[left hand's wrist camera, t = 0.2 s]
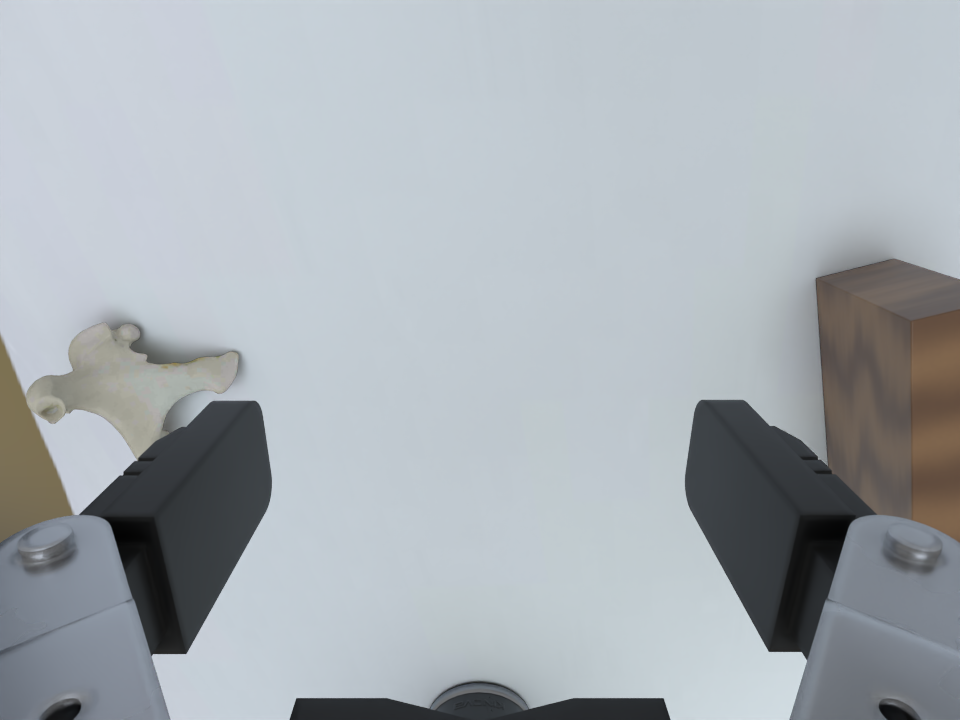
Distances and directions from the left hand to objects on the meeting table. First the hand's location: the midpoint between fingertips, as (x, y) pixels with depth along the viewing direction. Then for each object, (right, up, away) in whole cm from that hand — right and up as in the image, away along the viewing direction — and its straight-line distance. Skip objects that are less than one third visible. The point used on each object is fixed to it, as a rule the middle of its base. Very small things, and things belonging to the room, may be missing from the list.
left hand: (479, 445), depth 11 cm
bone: (-22, 0, +31) cm, 38 cm away
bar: (+28, -3, +33) cm, 43 cm away
